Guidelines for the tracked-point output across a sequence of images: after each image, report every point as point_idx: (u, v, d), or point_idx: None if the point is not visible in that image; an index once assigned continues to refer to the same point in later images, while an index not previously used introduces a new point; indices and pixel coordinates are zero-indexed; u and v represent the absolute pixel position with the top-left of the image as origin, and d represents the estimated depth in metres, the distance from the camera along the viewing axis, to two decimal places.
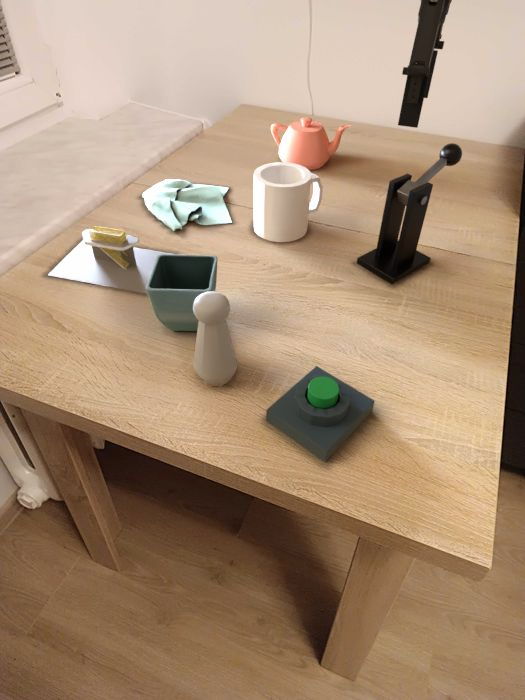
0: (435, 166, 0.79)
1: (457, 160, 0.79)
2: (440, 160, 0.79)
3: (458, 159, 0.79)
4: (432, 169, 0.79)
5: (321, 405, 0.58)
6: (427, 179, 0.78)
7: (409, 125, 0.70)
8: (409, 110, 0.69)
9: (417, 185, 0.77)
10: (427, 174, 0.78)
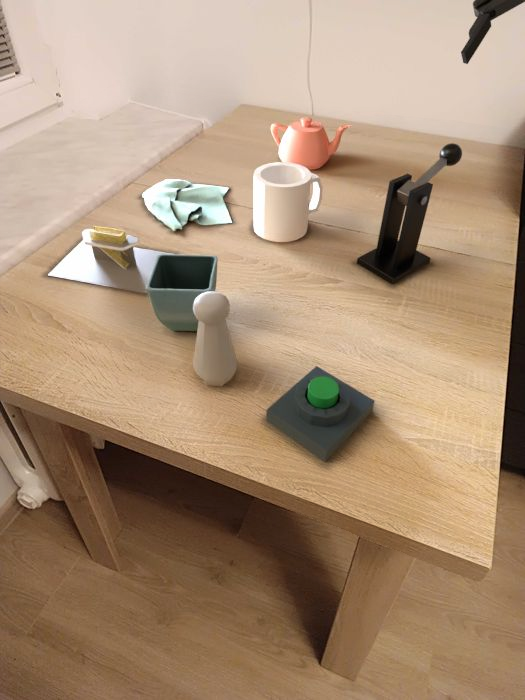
0: (435, 166, 0.79)
1: (457, 160, 0.79)
2: (440, 160, 0.79)
3: (458, 159, 0.79)
4: (432, 169, 0.79)
5: (321, 405, 0.58)
6: (427, 179, 0.78)
7: (462, 55, 0.80)
8: None
9: (417, 185, 0.77)
10: (427, 174, 0.78)
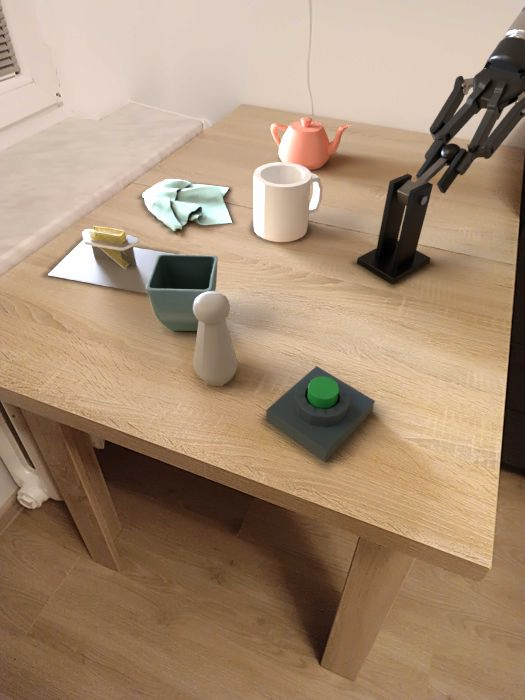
0: (435, 166, 0.79)
1: None
2: (440, 160, 0.79)
3: None
4: (432, 169, 0.79)
5: (321, 405, 0.58)
6: (427, 179, 0.78)
7: (418, 177, 0.82)
8: None
9: (417, 185, 0.77)
10: (427, 174, 0.78)
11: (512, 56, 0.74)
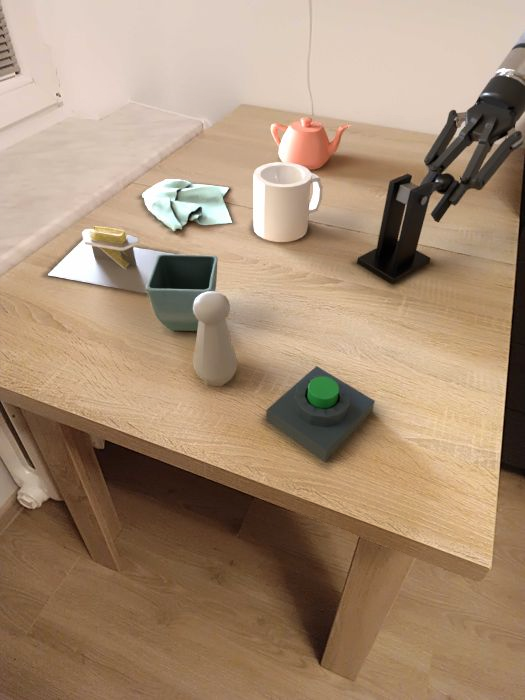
0: (433, 184, 0.81)
1: None
2: (437, 182, 0.82)
3: None
4: None
5: (321, 405, 0.58)
6: None
7: None
8: None
9: None
10: None
11: (501, 94, 0.78)
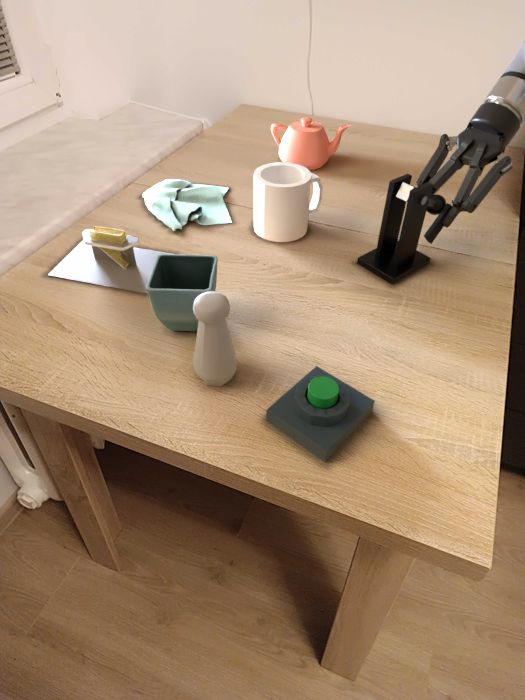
0: None
1: (442, 208, 0.84)
2: (430, 199, 0.84)
3: (442, 208, 0.84)
4: None
5: (321, 405, 0.58)
6: None
7: None
8: None
9: None
10: None
11: (491, 121, 0.80)
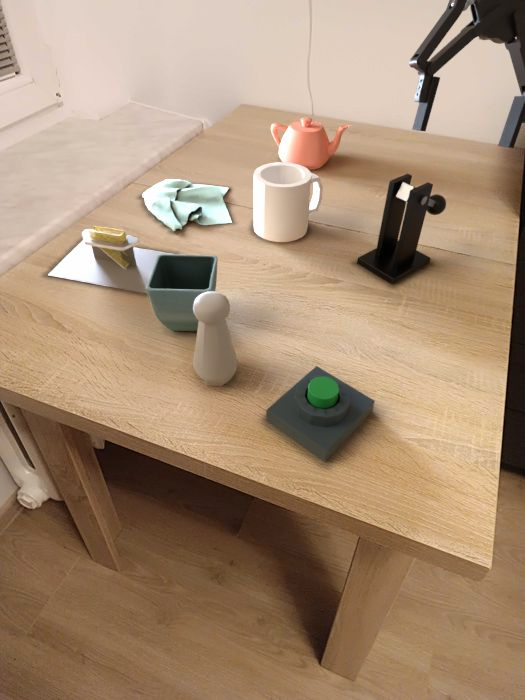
0: None
1: (442, 208, 0.84)
2: (430, 199, 0.84)
3: (442, 208, 0.84)
4: None
5: (321, 405, 0.58)
6: None
7: (417, 128, 0.68)
8: (420, 113, 0.68)
9: None
10: None
11: None
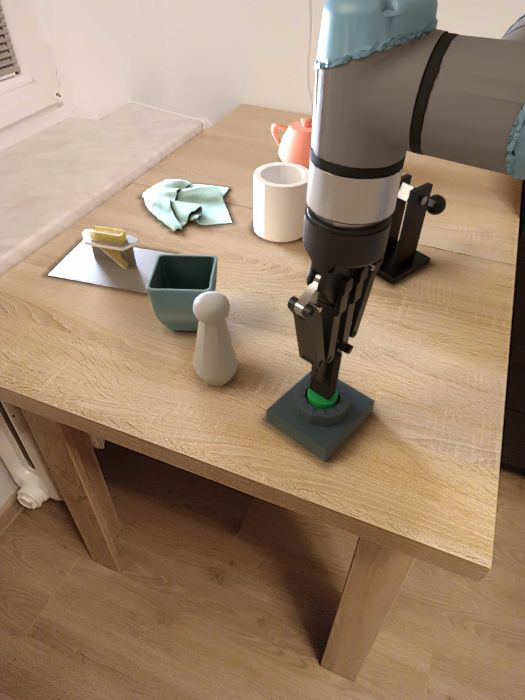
0: None
1: (442, 208, 0.84)
2: (430, 199, 0.84)
3: (442, 208, 0.84)
4: None
5: None
6: None
7: (320, 394, 0.58)
8: (319, 381, 0.57)
9: None
10: None
11: (384, 251, 0.44)
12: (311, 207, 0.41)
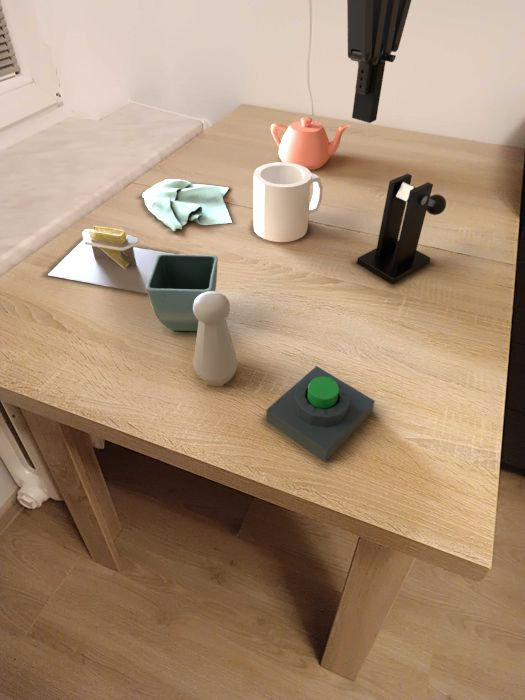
0: None
1: (442, 208, 0.84)
2: (430, 199, 0.84)
3: (442, 208, 0.84)
4: None
5: (321, 405, 0.58)
6: None
7: (362, 119, 0.63)
8: (362, 102, 0.62)
9: None
10: None
11: None
12: None
